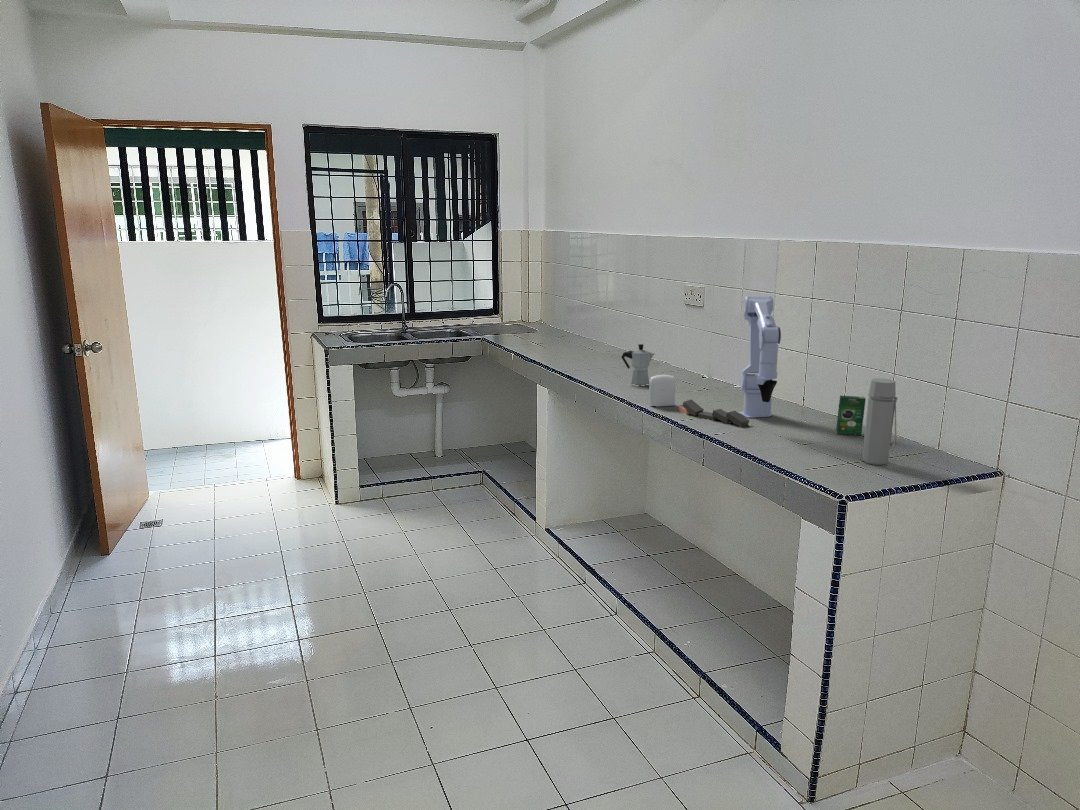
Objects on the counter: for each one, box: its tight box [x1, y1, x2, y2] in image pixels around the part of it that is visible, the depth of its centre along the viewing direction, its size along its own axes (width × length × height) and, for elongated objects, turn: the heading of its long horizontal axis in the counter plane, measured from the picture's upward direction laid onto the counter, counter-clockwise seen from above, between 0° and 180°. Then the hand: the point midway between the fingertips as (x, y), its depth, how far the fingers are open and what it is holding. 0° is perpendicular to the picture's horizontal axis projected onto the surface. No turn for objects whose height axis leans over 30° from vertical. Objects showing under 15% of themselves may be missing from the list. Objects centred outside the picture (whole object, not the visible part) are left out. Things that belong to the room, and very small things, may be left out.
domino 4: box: [726, 410, 750, 428], centre depth 273 cm, size 2×4×7 cm
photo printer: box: [648, 374, 676, 407], centre depth 301 cm, size 10×4×12 cm, turn 96°
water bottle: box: [862, 378, 898, 466], centre depth 227 cm, size 9×8×25 cm
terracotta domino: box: [677, 405, 692, 415], centre depth 292 cm, size 2×4×7 cm
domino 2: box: [697, 411, 719, 422], centre depth 283 cm, size 2×4×7 cm
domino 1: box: [682, 399, 705, 417], centre depth 288 cm, size 2×4×7 cm
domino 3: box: [711, 408, 733, 425], centre depth 278 cm, size 2×4×7 cm
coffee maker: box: [621, 343, 655, 385], centre depth 340 cm, size 15×9×18 cm, turn 84°
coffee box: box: [835, 395, 866, 436], centre depth 259 cm, size 8×3×13 cm, turn 77°
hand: (765, 401), depth 263 cm, fingers closed
